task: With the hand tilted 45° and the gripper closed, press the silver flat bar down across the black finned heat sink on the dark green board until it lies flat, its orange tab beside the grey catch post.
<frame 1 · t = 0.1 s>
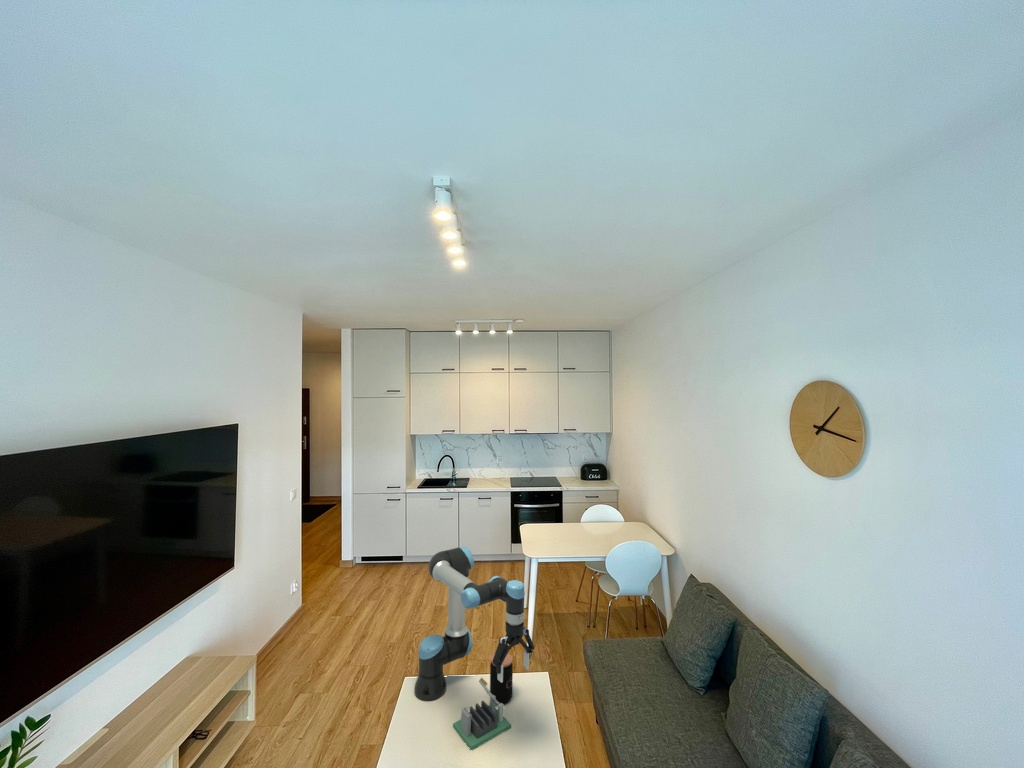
hand: (513, 674, 169), 28 cm above the table, tool pointing down, fingers open, 13 cm apart
cpu board: (482, 727, 176), on the table
silver flat bar: (490, 692, 179), point 13 cm above the table, hinge at 55.0°
coffee jar: (501, 698, 194), on the table
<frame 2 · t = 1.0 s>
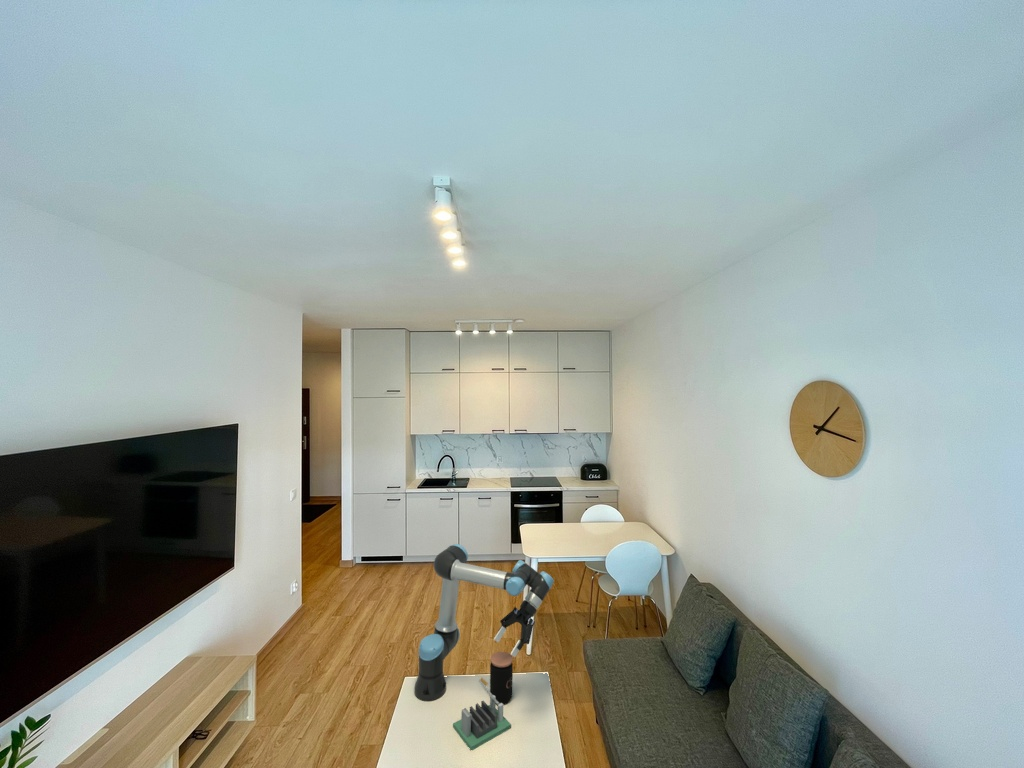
hand: (503, 648, 184), 30 cm above the table, tool tilted 45°, fingers open, 13 cm apart
nothing on the table moved.
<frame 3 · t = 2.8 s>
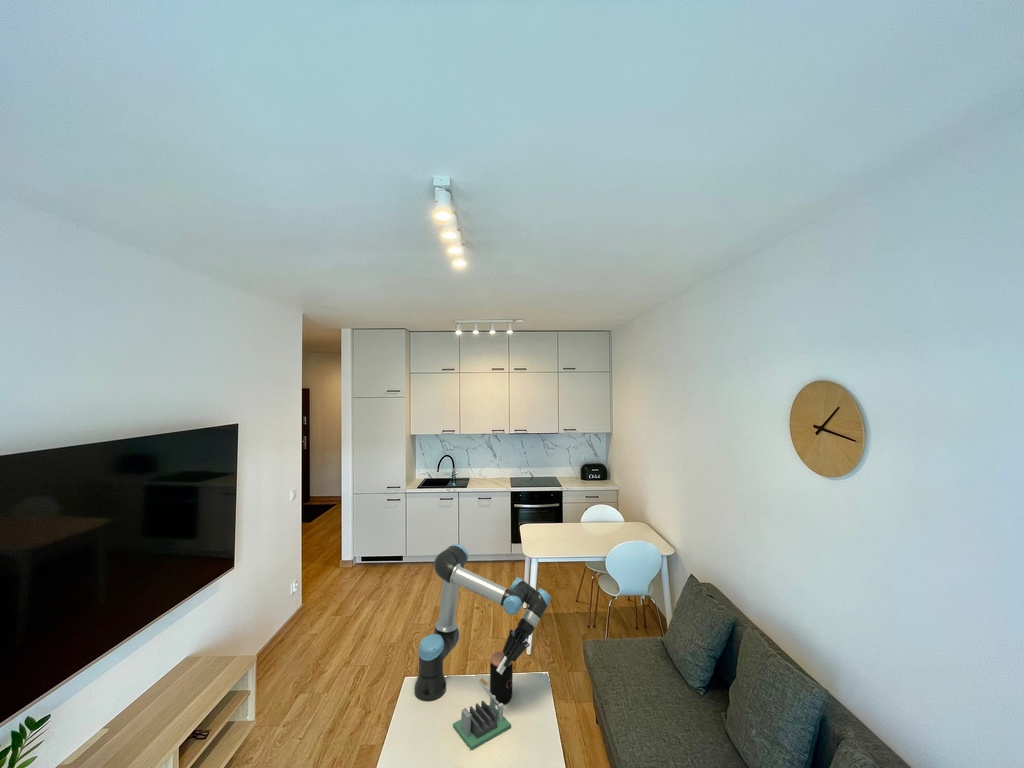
hand: (498, 672, 182), 20 cm above the table, tool tilted 45°, fingers closed
nothing on the table moved.
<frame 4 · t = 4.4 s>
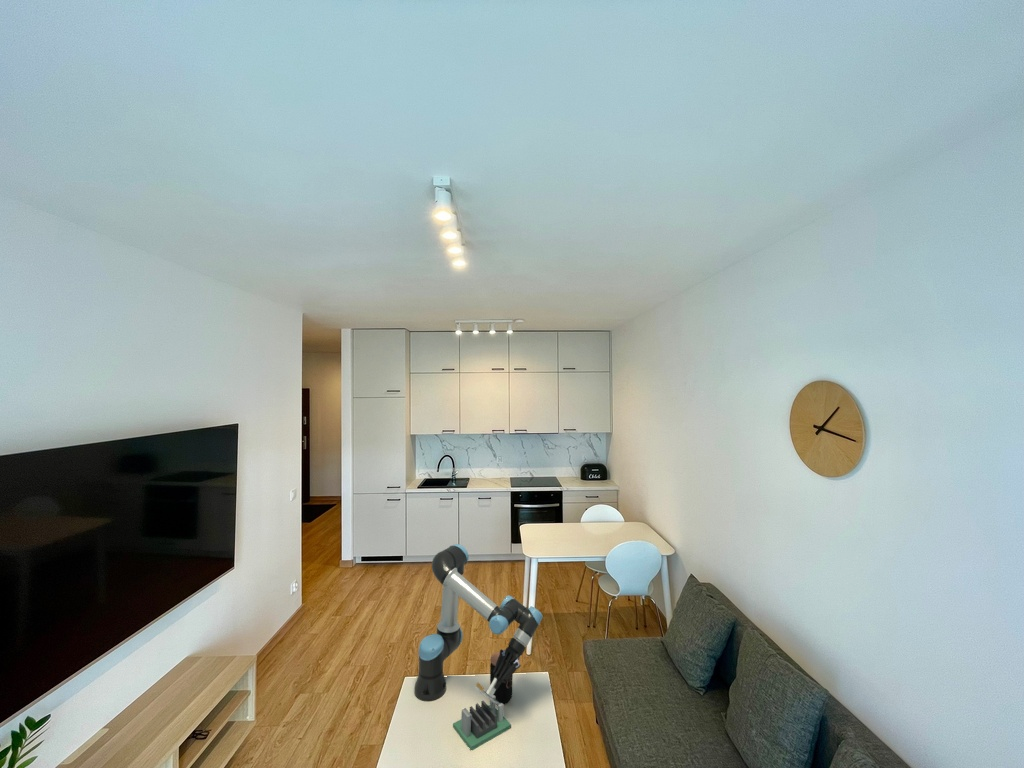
hand: (488, 694, 177), 13 cm above the table, tool tilted 45°, fingers closed
silver flat bar: (488, 695, 179), point 12 cm above the table, hinge at 45.3°, touching gripper
everything else where it was.
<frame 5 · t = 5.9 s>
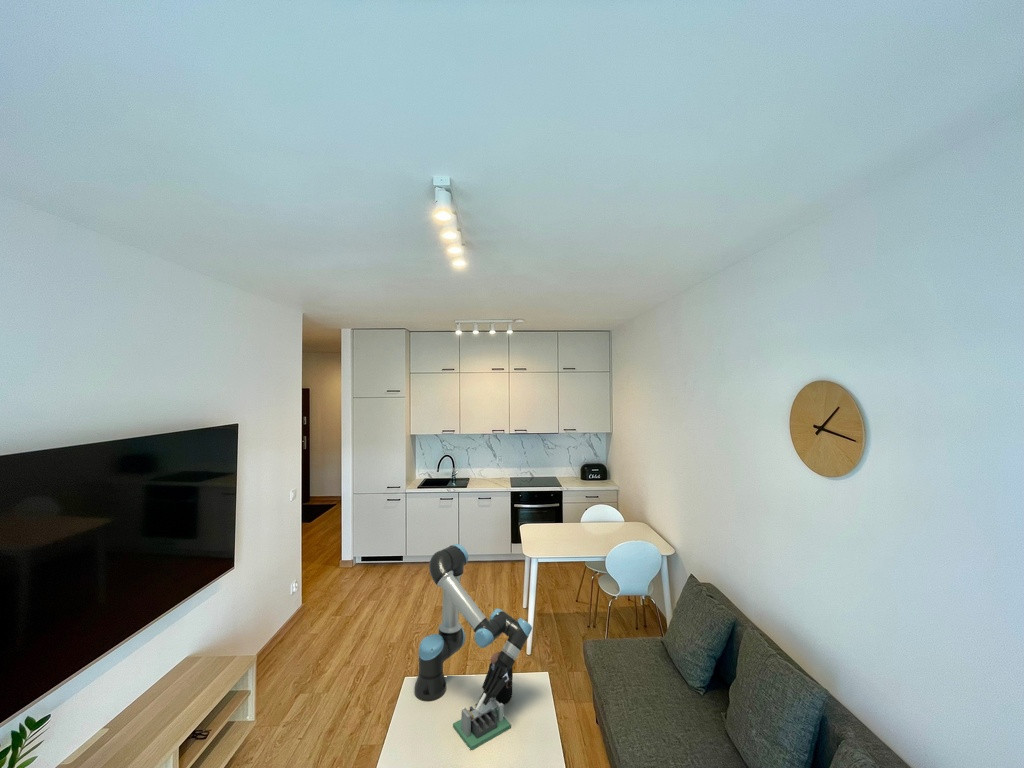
hand: (478, 710, 174), 9 cm above the table, tool tilted 45°, fingers closed
silver flat bar: (483, 708, 177), point 7 cm above the table, hinge at -1.3°, touching cpu board, gripper
everything else where it was.
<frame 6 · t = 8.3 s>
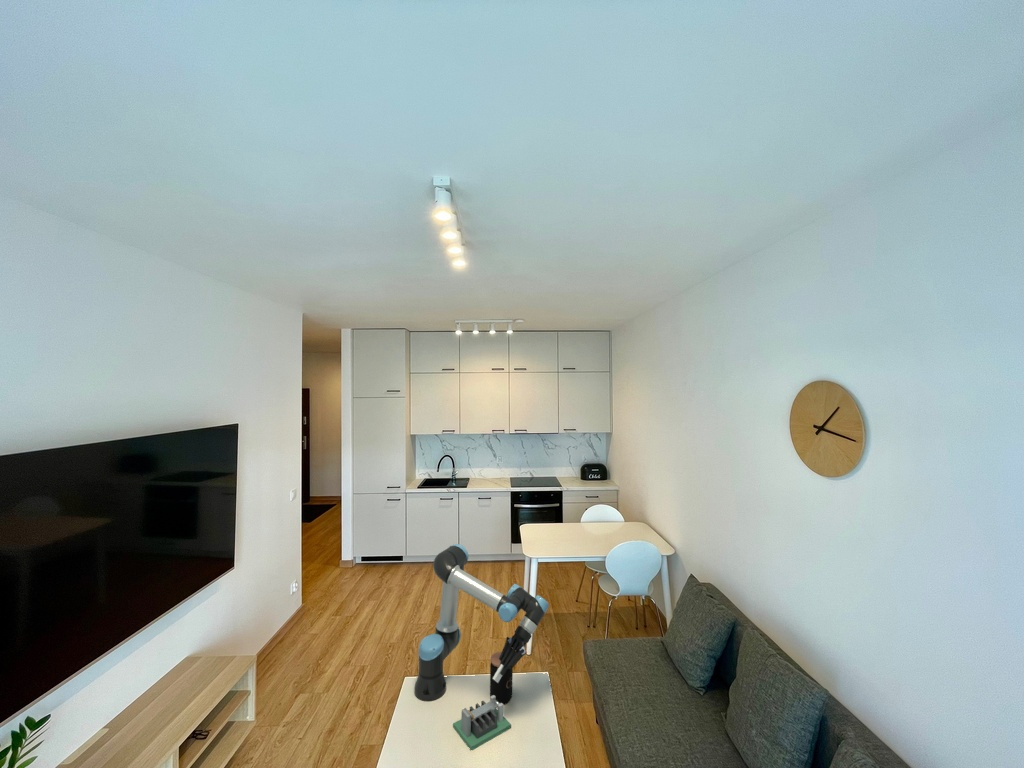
hand: (495, 680, 180), 17 cm above the table, tool tilted 45°, fingers closed
silver flat bar: (483, 708, 177), point 7 cm above the table, hinge at -1.3°, touching cpu board
everything else where it was.
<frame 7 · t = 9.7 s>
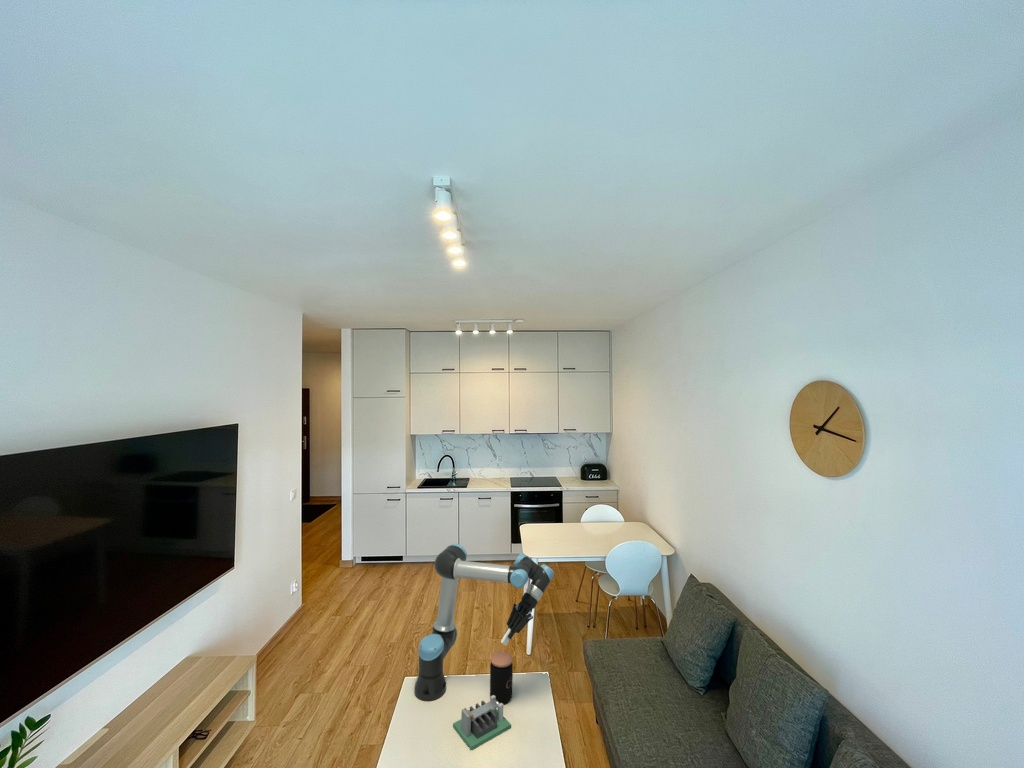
hand: (503, 643, 186), 30 cm above the table, tool tilted 45°, fingers closed
nothing on the table moved.
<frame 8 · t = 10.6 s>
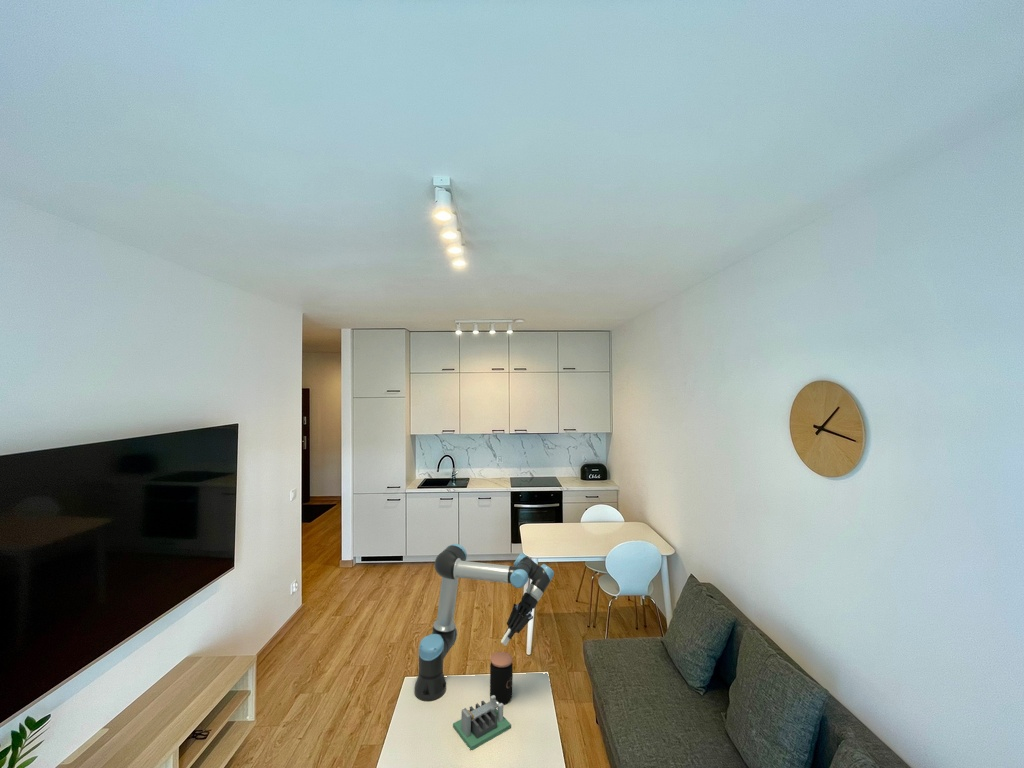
hand: (503, 643, 186), 30 cm above the table, tool tilted 45°, fingers closed
nothing on the table moved.
at the end: silver flat bar at -1° (first picture: +55°); coffee jar moved 0.2 cm from its start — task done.
